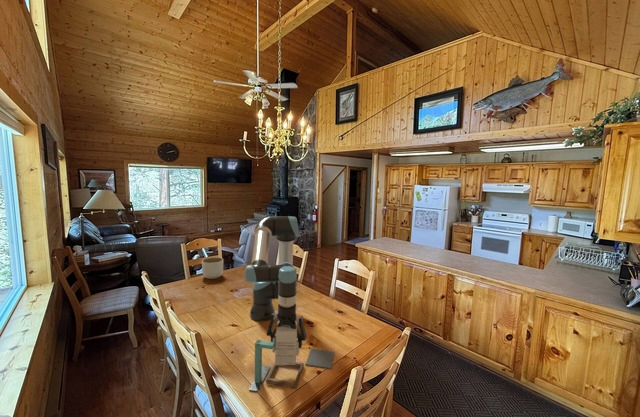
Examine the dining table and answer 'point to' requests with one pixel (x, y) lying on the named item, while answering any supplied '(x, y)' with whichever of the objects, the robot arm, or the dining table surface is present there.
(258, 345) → the teal bent bar
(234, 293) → the dining table surface
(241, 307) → the dining table surface
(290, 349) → the supplement box
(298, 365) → the frame
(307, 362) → the coaster
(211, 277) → the planter
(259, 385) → the rail
